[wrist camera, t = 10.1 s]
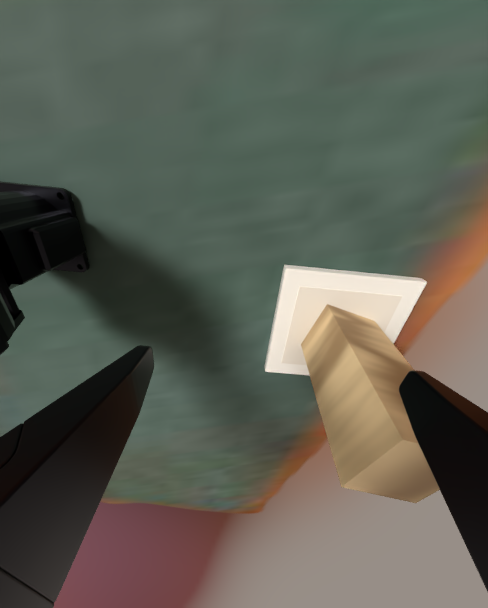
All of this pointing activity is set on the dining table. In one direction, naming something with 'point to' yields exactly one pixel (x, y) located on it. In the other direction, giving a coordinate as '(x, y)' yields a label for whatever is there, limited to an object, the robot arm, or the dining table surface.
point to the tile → (339, 293)
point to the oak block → (365, 407)
